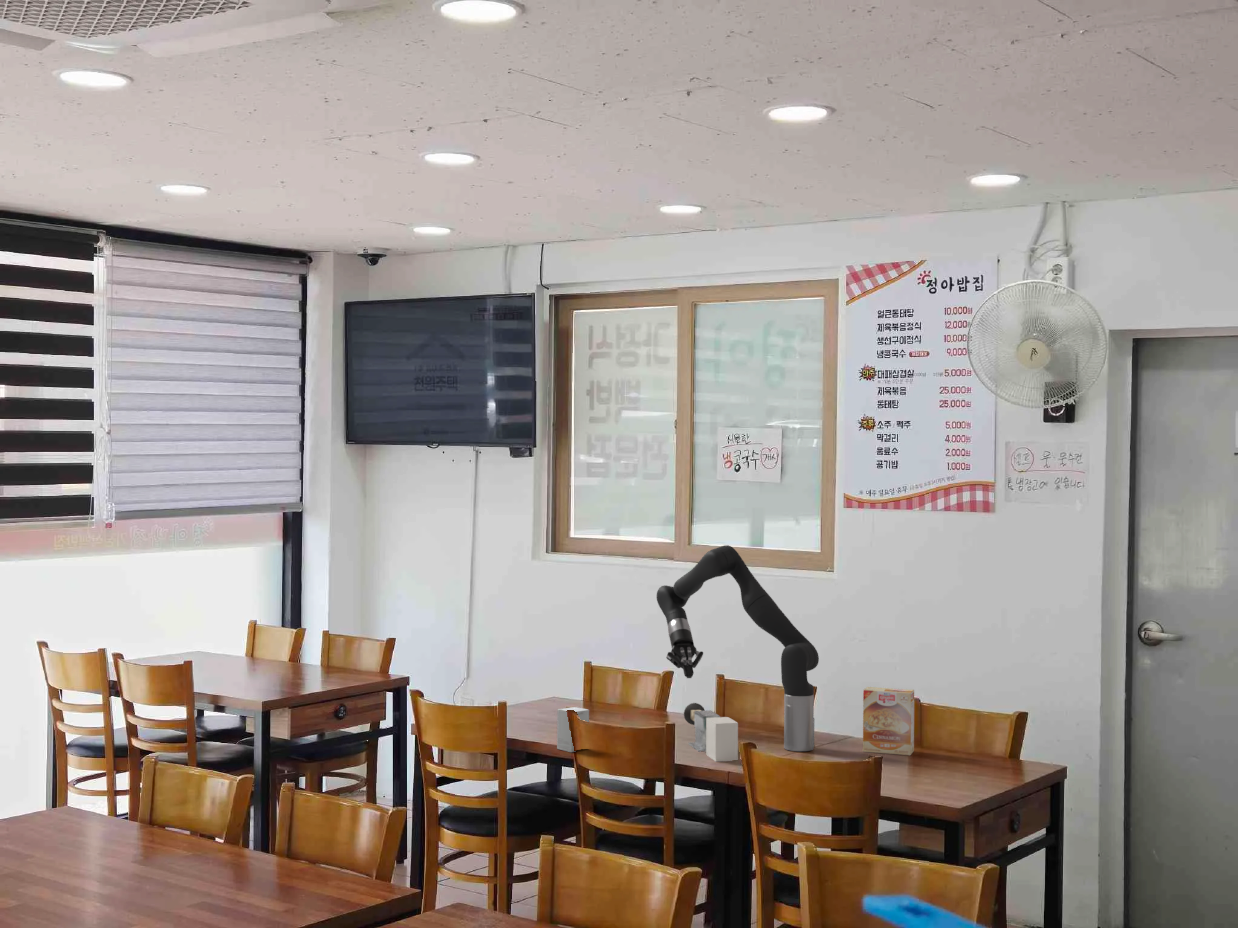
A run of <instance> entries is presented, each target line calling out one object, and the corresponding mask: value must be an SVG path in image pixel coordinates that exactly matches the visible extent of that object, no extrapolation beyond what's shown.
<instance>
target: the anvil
mask: <svg viewBox="0 0 1238 928" xmlns="http://www.w3.org/2000/svg"><path fill="white" fill-rule="evenodd" d="M714 717H721V716H720V715H719V714H717V713H716V712H714V711H713V710H712V709H711V710H710V709H709V710H708V709H707V710H705V711H695V725H694V729H695V731H694V733H695V734H694V737H695V739H694V740H695V741H692V742H691V741H690V742H687V744H688V746H690V747H691V746H692V747H691V748H692V749H694V750H695V751H697V752H701V751H703V752H706V718H714ZM701 753H702V752H701Z"/></svg>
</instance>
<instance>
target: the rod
mask: <svg viewBox="0 0 1238 928" xmlns="http://www.w3.org/2000/svg"><path fill="white" fill-rule="evenodd" d="M695 711H706V710H705V708H704V707H703V705H701V704H700V703H697V702H693V703H689V704H688V705H687V706H685V708H684V711H683V718H684V720H685V721H686V722H687V723H688V724H690V725H692V726H695Z"/></svg>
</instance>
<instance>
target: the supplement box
mask: <svg viewBox="0 0 1238 928" xmlns="http://www.w3.org/2000/svg"><path fill="white" fill-rule="evenodd" d="M567 710H574V711H575V712H577V714H578V716H579V717H580V719H581V720H585V721H587V722H589V723H590V709H587V708H584V707H583V708H582V707H577V706H576V707H575V706H573V707H567V708H557V716H556V718H557V721H556V722H557V724H556V725H557V727H556V729H557V730H556V739H557V740H556V749H557V750H561V751H564V752H569V753H574V752H575V751H574V746H573V743H572V737H571V731H570V730H569V722H568V717H567V712H566V711H567Z"/></svg>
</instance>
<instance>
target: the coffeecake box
mask: <svg viewBox="0 0 1238 928" xmlns="http://www.w3.org/2000/svg"><path fill="white" fill-rule="evenodd" d="M862 697H863V698H862V699H863V700H862V701H863V702H862V706H863V707H862V709H863V713H862V716H863V717H862V719H863V720H862V752H864V753H876V754H887V755H889V754H890V755H900V756H901V755H903V756H911V755H912V754H913V753H914V751H915V689H907V688H906V689H903V688H890V687H876V686H873V687H872V686H866V688H864V689H863V695H862Z"/></svg>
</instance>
